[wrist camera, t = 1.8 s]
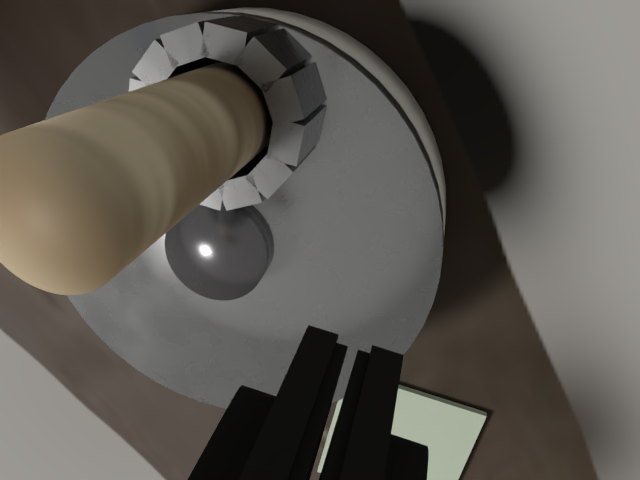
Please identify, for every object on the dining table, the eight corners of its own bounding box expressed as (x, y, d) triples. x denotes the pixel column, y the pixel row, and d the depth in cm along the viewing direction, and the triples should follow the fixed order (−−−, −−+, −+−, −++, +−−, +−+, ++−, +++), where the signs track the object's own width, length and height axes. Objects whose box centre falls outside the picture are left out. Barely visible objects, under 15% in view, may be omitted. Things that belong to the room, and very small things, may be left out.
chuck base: (105, -36, 31) (57, -38, 27) (502, 65, 28) (507, 77, 25) (90, 298, 40) (53, 329, 36) (389, 394, 38) (381, 438, 34)
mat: (347, 368, 37) (346, 371, 37) (486, 412, 37) (486, 416, 36) (318, 467, 41) (317, 471, 41) (442, 509, 40) (442, 514, 40)
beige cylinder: (210, 44, 25) (-37, 109, 13) (299, 68, 25) (133, 159, 12) (199, 133, 27) (-28, 267, 14) (282, 157, 27) (121, 315, 14)
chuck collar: (380, 441, 34) (366, 520, 29) (50, 332, 36) (-15, 388, 31) (508, 78, 25) (519, 103, 20) (53, -38, 27) (-38, -42, 22)
